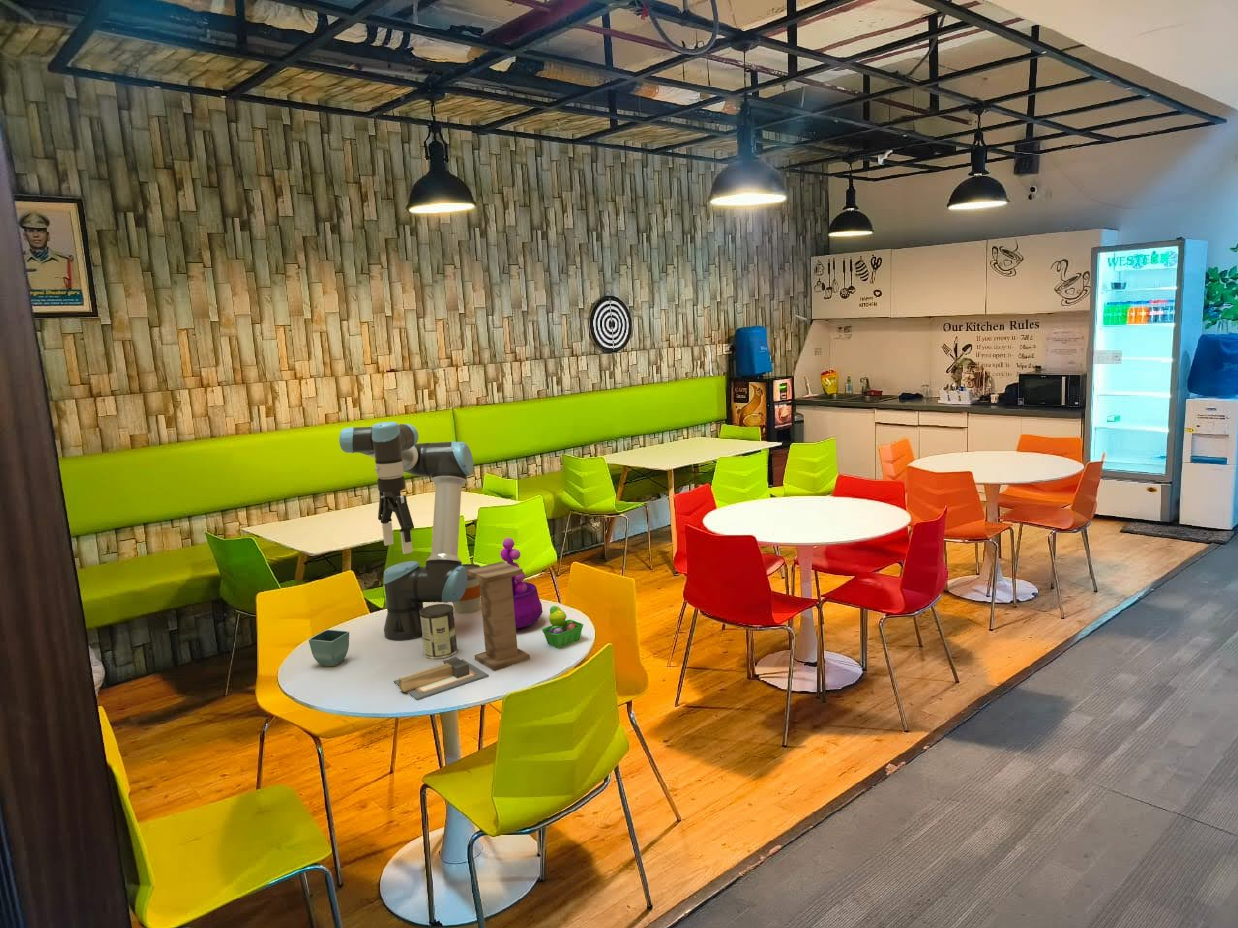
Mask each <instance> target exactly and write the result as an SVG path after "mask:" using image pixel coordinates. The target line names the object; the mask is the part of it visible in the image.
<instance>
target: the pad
mask: <svg viewBox="0 0 1238 928" xmlns="http://www.w3.org/2000/svg"><path fill="white" fill-rule="evenodd" d="M460 660H462V661H464V662H466V663H467V664H469V672H470V674H469V675H466V676H463V677H460V678H456V677H454V676H451V677H448V678H445V679H442V680H439V681H436V682H433V683H430V684H427V685H424V686H421V687H418V688H415V689H412V690H409V691H406V692H407V693H406V692H405V693H406V694H408V693H409V694H410V695H411V697H412V696H413V697H414V698H415V699H414V698H413V697H412V698H413V699H414V700H416V701H419V700H418V699H420V700H422V699H424V697H425V698H428V697H430V696H434V695H437V694H440V693H443V692H446V691H449V690H451V689H452V690H453V689H454V688H455V689H456V688H458V687H461V686H464V685H466V684H470V683H472V682H473V683H474V682H476V681H479V680H482V679H485V678H488V677H489V676H490V675H489V674H488V673H486V672H485V671H483V670H482V669H480V668H478V667H477V666H475V665H473V664H472V663H470V662H469V661H467V660H465V659H464V658H463V659H460ZM393 682H394V683H393ZM393 682H392V683H393V684H395V685H396V684H397V685H398V686H397V685H396V686H397V687H399V678H398V679H395V680H393ZM409 694H408V695H409ZM410 695H409V696H410ZM427 696H428V697H427Z"/></svg>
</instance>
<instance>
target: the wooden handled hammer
mask: <svg viewBox="0 0 1238 928" xmlns="http://www.w3.org/2000/svg"><path fill="white" fill-rule="evenodd" d="M442 662H443V664H440V665H436V666H434V667H431V668H428V669H424V670H421V671H419V672H415V673H412V674H409V675H406V676H403V677H399V678H398V679H399V686H398V688H399V690H400V691H402V692H404V693H406V691H409V690H412V689H415V688H418V687H421V686H424V685H427V684H430V683H433V682H436V681H439V680H442V679H445V678H448V677H451V676H454V677H456V678H460V677H463V676H466V675H469V674H470V672H469V664H467V663H466V662H464V661H462V660H461V659H460V658H458V657H456V656H454V657H451V658H450V657H449V658H446V659H445V660H442Z"/></svg>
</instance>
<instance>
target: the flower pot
mask: <svg viewBox="0 0 1238 928" xmlns="http://www.w3.org/2000/svg"><path fill="white" fill-rule="evenodd" d="M308 643H309V644H308V645H309V648H310V652H311V654H312V656H313V658H314V660H315V661H316V663H318V664H319V665H320V666H324V667H325V666H327V667H336V666H337V665H338V664H340V663H342V662H343V661H345V658H346V657H347V654H348V652H349V647H350V631H347V630H346V631H345V630H338V629H335V630H334V629H325V630H323V631H322V632H320V633H317V634H316V635H313V636H312V637H310V638H308Z"/></svg>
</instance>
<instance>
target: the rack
mask: <svg viewBox="0 0 1238 928" xmlns="http://www.w3.org/2000/svg"><path fill="white" fill-rule="evenodd" d="M480 566H481V567H477V568H473V569H469V570H467V575H468V576H471V577H473V578H475V579H478V580H479V584H480V595H481V596H480V607H481V615H482V616H481V617H482V627H483V637H484V638H483V639H484V646H485V647H484V648H485V649H484V650H485V651H483V652H480V653H475V654H474V660H475V661H477V662H478V663H480V664H481V665H483V666H485V667H487V668H489V669H490V670H492V671H493V672H496V671H500V670H502V669H505V668H508V667H511V666H514V665H518V664H520V663H523V662H526V661H529V660H530V659H531V656H530V653H527V652H526V651H523V650H521V649H520V648H518V638H517V628H516V625H515V613H514V601H513V590H512V578H511V577H513V576H517V575H521V574H523V572H524V569H523V568H522V567H520V566H519V567H516V566H513V565H511V564H508V563H507V562H506V561H504V560H503V561H499V562H495V563H490V564H486V565H483V566H482V565H480Z"/></svg>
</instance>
